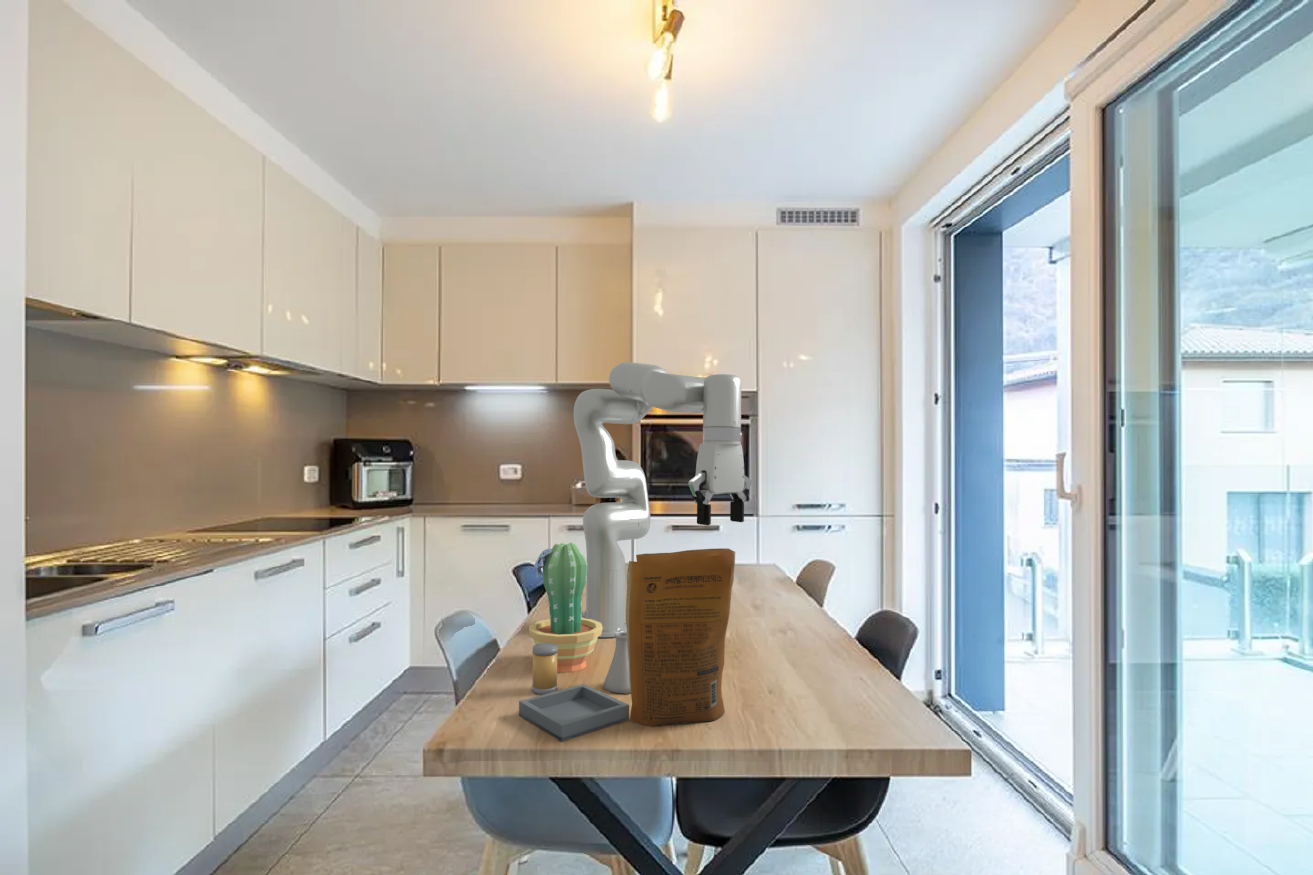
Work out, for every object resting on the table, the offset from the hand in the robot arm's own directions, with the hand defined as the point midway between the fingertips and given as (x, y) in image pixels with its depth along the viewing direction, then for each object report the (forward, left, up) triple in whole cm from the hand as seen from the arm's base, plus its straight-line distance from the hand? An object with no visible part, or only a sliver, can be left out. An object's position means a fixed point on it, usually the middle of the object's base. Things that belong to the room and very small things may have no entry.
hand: (720, 523), depth 130 cm
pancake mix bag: (+11, -21, -30) cm, 38 cm away
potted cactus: (-25, -20, -30) cm, 44 cm away
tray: (-1, -34, -30) cm, 45 cm away
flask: (-7, -19, -30) cm, 36 cm away
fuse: (-15, -31, -30) cm, 46 cm away
